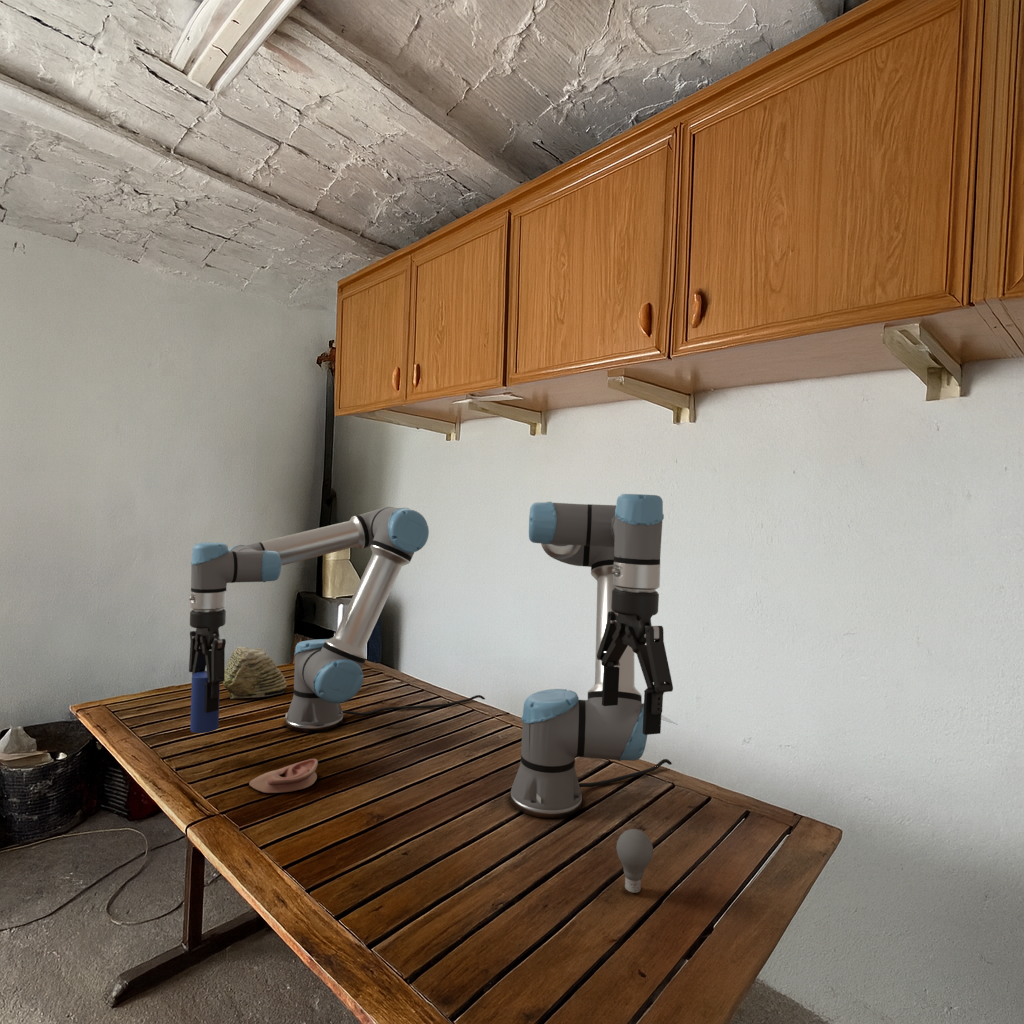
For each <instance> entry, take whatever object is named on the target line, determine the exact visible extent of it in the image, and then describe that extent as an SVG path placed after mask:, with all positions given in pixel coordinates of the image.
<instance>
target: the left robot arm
mask: <svg viewBox="0 0 1024 1024" xmlns="http://www.w3.org/2000/svg"><path fill="white" fill-rule="evenodd" d="M429 534H430V529H429V525H428V522H427V520H426V518H425V517H424V516H423V514H421V513H420V512H419V511H417V510H415V509H412V508H409V507H395V506H394V507H393V506H386V507H385V506H384V507H381V508H377V509H374V510H371V511H368V512H364V513H361V514H357V515H352V516H351V517H350V519H349V520H348V521H343V522H338V523H334V524H331V525H327V526H321V527H317V528H314V529H308V530H304V531H300V532H297V533H292V534H288V535H284V536H280V537H275V538H271V539H267V540H262V541H259V542H255V543H250V544H246V545H245V544H238V545H233V546H232V547H231V548H228V544H227V543H225V542H211V541H210V542H198V543H195V544H194V545H193V547H192V555H191V561H190V564H191V565H190V566H191V567H190V568H191V569H190V596H189V597H188V600H189V601H190V608H191V611H189V626H190V627H191V628H193V629H195V630H190V631H189V639H190V643H189V658H188V659H189V660H188V673H191V676H192V675H193V674H194V673H197V672H202V671H207V678H208V682H207V683H205V685H206V693H205V712H206V713H208V712H213V711H217V710H218V702H219V703H220V694H219V683H220V684H221V683H223V682H224V680H225V668H226V666H225V654H226V653H225V651H226V650H225V649H226V643H227V641H226V638H222V639H221V638H220V637H221V636H220V630H219V629H220V628H221V627H223V626H225V624H226V619H227V618H226V617H227V616H226V614H227V611H226V609H225V608H226V607H227V596H228V595H227V591H228V590H227V585H228V584H234V583H267V582H275V581H277V580H279V579H280V576H281V573H282V566H286V565H290V564H293V563H298V562H301V561H305V560H309V559H314V558H317V557H321V556H324V555H329V554H333V553H336V552H341V551H343V550H344V551H345V550H348V549H352V548H355V547H356V548H358V549H360V550H362V549H366V548H370V550H371V553H372V554H371V556H370V558H369V560H368V563H367V565H366V567H365V569H364V572H363V574H362V576H361V577H360V580H359V582H358V584H357V587H356V588H355V591H354V593H353V594H352V596H351V599H350V600H349V601H350V602H349V603H348V606H347V608H346V610H345V612H344V614H343V616H342V619H341V621H340V623H339V624H338V627H337V629H336V631H335V633H334V635H333V637H330V638H323V639H322V638H320V639H307V640H303V641H299V642H297V644H296V645H295V650H294V653H293V654H294V655H293V656H294V672H293V673H294V674H293V695H292V696H293V697H292V699H291V702H290V704H289V708H288V711H287V712H285V726H286V728H287V729H289V730H291V731H294V732H295V731H296V732H301V733H316V732H325V731H329V730H332V729H335V728H337V727H339V726H340V725H342V723H343V722H344V714H346V715H354V716H369V715H372V714H373V715H374V714H376V713H379V712H383V711H391V710H413V709H415V710H416V709H432V708H440V707H441V708H442V707H447V706H453V705H458V704H462V703H467V702H471V701H472V700H475V699H478V698H479V699H481V700H486V698H485V697H484V696H483V695H480V694H476V695H474V696H471V697H468V698H464V699H460V700H456V701H452V702H451V701H450V702H446V703H439V704H426V705H425V704H423V705H400V706H399V705H397V706H387V707H381V708H377V709H374V710H371V711H365V712H357V711H353V710H343V709H342V706H341V704H342V703H346V702H347V701H350V700H352V699H353V698H354V697H355V696H356V695H357V694H358V693H359V692H360V690H361V689H362V686H363V682H364V672H363V667H364V666H365V665H364V664H365V662H366V660H367V658H368V657H367V654H366V651H365V648H366V646H367V644H368V641H370V640H369V639H370V638H371V635H372V633H373V630H374V628H375V627H376V624H377V622H378V620H379V617H380V615H381V613H382V611H383V609H384V607H385V605H386V602H387V600H388V598H389V596H390V594H391V591H392V589H393V587H394V584H395V582H396V580H397V578H398V576H399V574H400V571H401V569H402V567H404V566H406V565H409V564H410V563H411V561H412V558H413V556H414V555H415V553H416V552H418V551H420V550H422V549H423V548H424V547H425V545H426V544H427V542H428V540H429Z"/></svg>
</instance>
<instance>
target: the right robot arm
mask: <svg viewBox="0 0 1024 1024" xmlns="http://www.w3.org/2000/svg"><path fill="white" fill-rule="evenodd" d="M664 516H665V514H664V501H663V498H662V497H661V496H660V495H656V494H639V493H621V494H619V495H618V496H617V498H616V504H593V503H591V504H589V503H586V504H584V503H568V502H567V503H565V502H552V501H546V502H543V501H542V502H540V501H539V502H533V503H532V504H531V505H530V508H529V515H528V540H529V541H530V542H531V543H533V544H540V545H541V547H542V550H543V551H544V553H546V555H548V556H549V557H550V558H552V559H553V560H556V561H558V562H560V563H564V564H568V565H571V566H575V567H576V566H577V567H585V568H586V567H587V568H590V575H591V577H593V578H594V579H595V580H596V583H597V584H596V592H597V593H596V618H595V619H596V620H595V621H596V624H595V626H596V627H595V661H594V662H595V665H594V666H595V667H594V670H595V671H594V685H593V686H592V687H590V689H589V690H588V691H587V699H580V698H579V696H578V693H577V692H576V691H574V690H570V689H566V688H565V689H564V688H550V689H544V690H539V691H536V692H533V693H531V694H530V695H528V696H527V697H526V699H525V700H524V702H523V710H522V715H521V722H522V729H521V746H520V747H521V749H520V763H519V766H518V769H517V772H516V774H515V776H514V780H513V783H512V786H511V789H510V802H511V804H512V806H513V807H514V808H515V809H517V810H518V811H519V812H521V813H522V814H523V813H524V814H526V815H528V816H533V817H535V818H536V817H537V818H541V819H542V818H543V819H560V818H565V817H570V816H572V815H574V814H575V813H578V811H580V809H581V807H582V803H583V802H582V800H583V796H582V795H583V794H582V790H581V788H593V787H599V786H604V785H608V784H609V785H610V784H612V783H616V782H620V781H624V780H628V779H632V778H635V777H639V776H642V775H646V774H649V773H651V772H654V771H656V770H658V768H660V767H661V766H662V765H664V764H668V766H669V765H673V763H672V761H671V760H670V759H668V758H663V759H661V760H660V761H659V762H658V763H656V764H655V765H654V766H652V767H649V768H646V769H643V770H638V771H635V772H632V773H628V774H624V775H620V776H616V777H612V778H609V779H604V780H599V781H594V782H579V779H578V775H577V772H576V767H575V766H576V758H589V759H599V760H611V761H618V762H622V761H633V762H634V761H638V760H640V759H641V758H642V757H643V755H644V752H645V750H646V745H647V740H648V735H660V734H661V732H662V729H661V728H662V714H663V703H664V694H665V693H670V692H673V690H674V684H673V680H672V675H671V670H670V666H669V661H668V657H667V652H666V651H667V650H666V646H665V641H664V626H663V625H652V618H653V617H654V616H656V615H657V614H658V613H659V603H660V602H659V600H660V593H659V592H658V591H657V590H658V589H659V588H660V587H661V585H660V584H661V552H662V535H663V520H664V518H665V517H664ZM635 654H636V655H637V660H638V663H639V667H640V669H641V672H642V675H643V679H644V681H645V684H646V688H645V690H644V691H643V692H644V694H643V695H642V693H641V692H640V691H639V690H638V689H637V688H636V685H635ZM642 697H643V698H642ZM642 699H643V700H642ZM655 766H656V767H655ZM657 766H658V767H657Z"/></svg>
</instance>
